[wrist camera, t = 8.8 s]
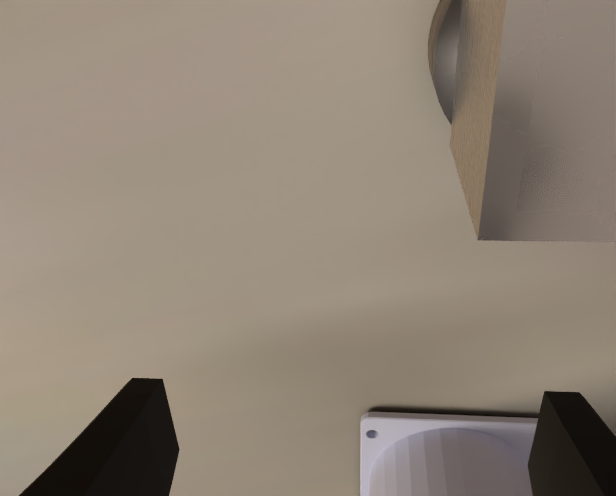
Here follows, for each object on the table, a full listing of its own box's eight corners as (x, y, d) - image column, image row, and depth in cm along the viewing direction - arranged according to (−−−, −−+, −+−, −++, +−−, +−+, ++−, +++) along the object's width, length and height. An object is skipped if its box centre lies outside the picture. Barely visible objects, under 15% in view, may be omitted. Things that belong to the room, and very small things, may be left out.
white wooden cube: (623, 143, 17) (720, 243, 12) (449, 145, 17) (477, 239, 12) (668, -46, 14) (813, -14, 10) (464, -38, 15) (506, -5, 10)
